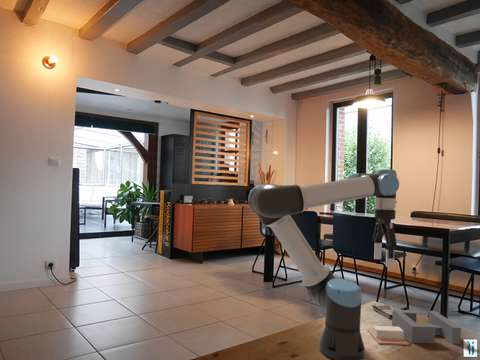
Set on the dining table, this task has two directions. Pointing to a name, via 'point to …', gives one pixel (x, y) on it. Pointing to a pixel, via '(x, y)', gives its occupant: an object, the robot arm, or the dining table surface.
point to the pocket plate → (426, 327)
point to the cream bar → (388, 332)
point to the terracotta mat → (389, 340)
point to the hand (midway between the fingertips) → (383, 262)
